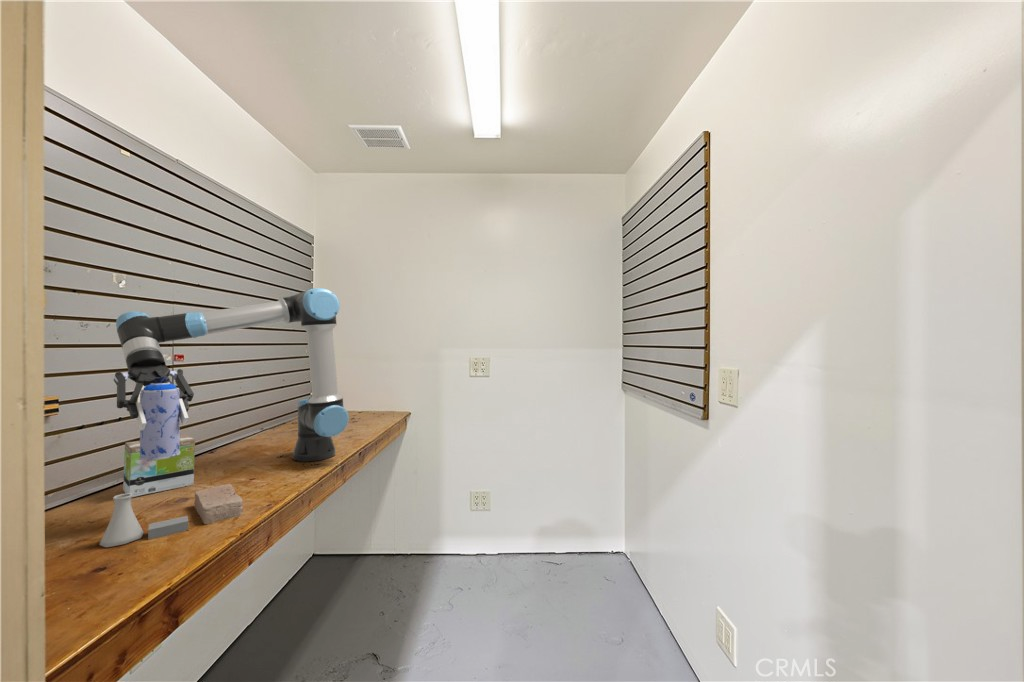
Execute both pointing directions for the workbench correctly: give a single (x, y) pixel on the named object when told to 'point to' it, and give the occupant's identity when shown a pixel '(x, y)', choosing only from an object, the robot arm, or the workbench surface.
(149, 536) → the block
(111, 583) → the workbench surface
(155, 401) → the aerosol can
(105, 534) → the flask
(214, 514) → the brick
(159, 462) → the tea box
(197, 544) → the workbench surface
